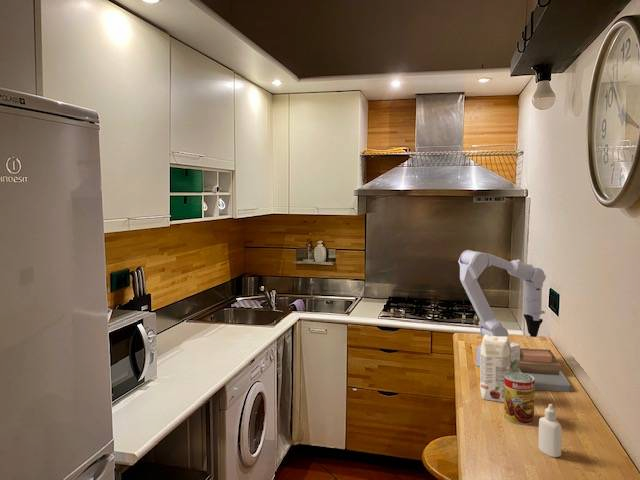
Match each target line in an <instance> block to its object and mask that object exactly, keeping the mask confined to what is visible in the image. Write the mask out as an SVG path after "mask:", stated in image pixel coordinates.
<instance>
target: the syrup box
mask: <svg viewBox="0 0 640 480" xmlns="http://www.w3.org/2000/svg"><path fill="white" fill-rule="evenodd" d="M510 346H511V362H510V372H519V366H520V348H521V344H519V343H516V342H514V341H510Z"/></svg>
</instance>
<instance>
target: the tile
mask: <svg viewBox="0 0 640 480" xmlns="http://www.w3.org/2000/svg"><path fill="white" fill-rule="evenodd" d="M522 357H523V359H524V361H541V362H552V356H551V355H550V353H549V352H548V351H531V350H522Z"/></svg>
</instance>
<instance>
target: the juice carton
mask: <svg viewBox="0 0 640 480" xmlns="http://www.w3.org/2000/svg"><path fill="white" fill-rule="evenodd" d="M510 342H511V341H510V337H509V336H508V337H506V336H492V335H484V338H483V337H482V340H481V359H480V370H479V372H480V375H479V377H480V378H479V380H480V381H479V386H480V387H479V388H480V390H479V391H480V394H481V398H482V400H485V401H492V402H493V401H494V402H499V403H504V375H505V374H506V373H510V362H511V346H510Z"/></svg>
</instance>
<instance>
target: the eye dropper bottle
mask: <svg viewBox="0 0 640 480" xmlns="http://www.w3.org/2000/svg"><path fill="white" fill-rule="evenodd" d="M562 428H563V427H562V425H561V423H560V422H559V421H558V420H557V411H556V409H555V408H553V404H552V403H549V404H548V407H546V408H545V409H544V416H542V417H540V418H539V420H538V442H537V443H538V444H537V445H538V449H539V450H540V451H541V452H542V453H543V454H545V455H547V456H548V457H551V458H558V457H561V456H562V436H563V435H562V433H563V432H562Z"/></svg>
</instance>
